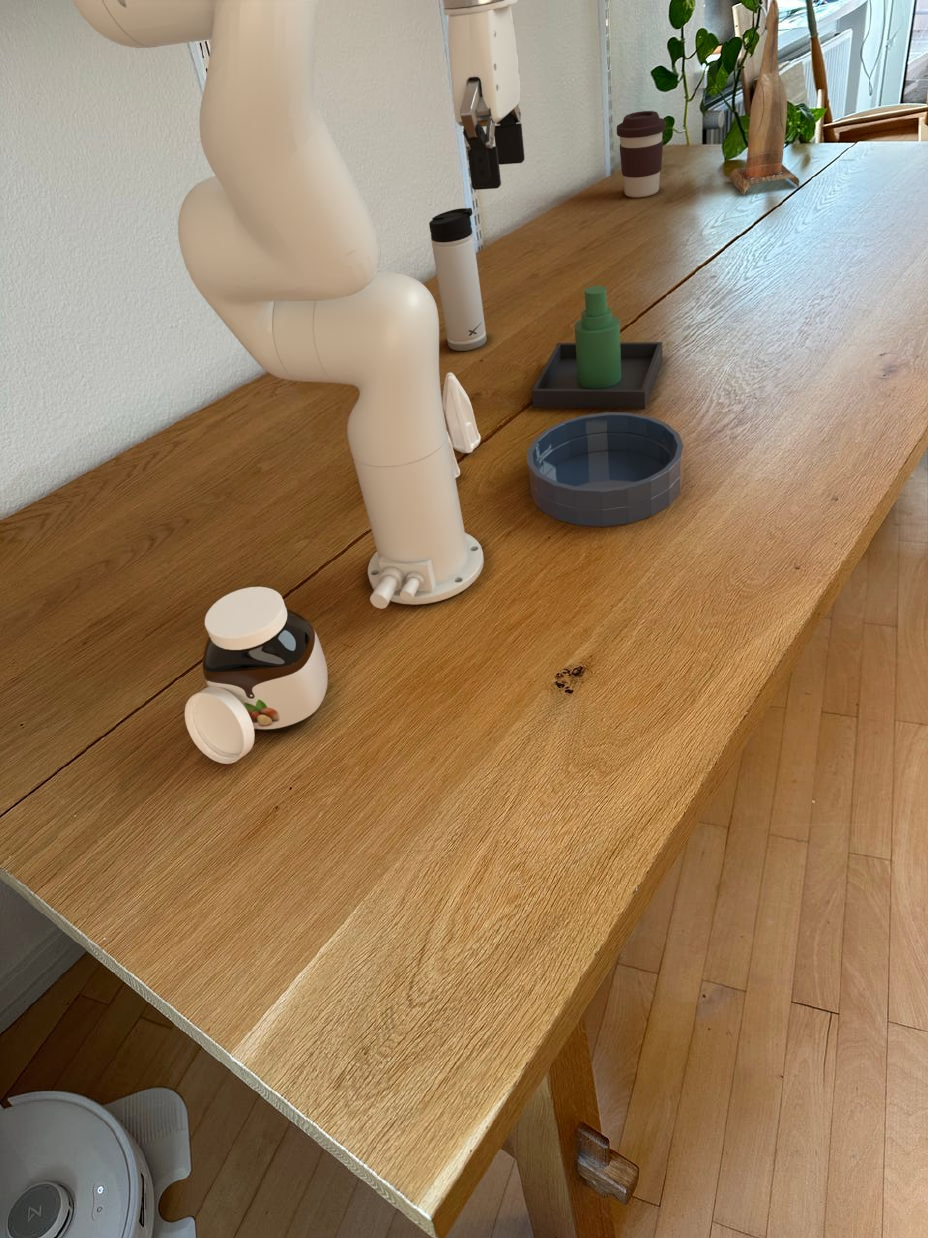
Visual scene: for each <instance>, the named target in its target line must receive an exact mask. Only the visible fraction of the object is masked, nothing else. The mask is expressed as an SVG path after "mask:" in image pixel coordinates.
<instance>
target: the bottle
mask: <svg viewBox="0 0 928 1238" xmlns="http://www.w3.org/2000/svg"><path fill="white" fill-rule="evenodd" d="M607 298H608V297H607V287H606V286H603V285H593V286H589V287H586V288H585V289H584V303H585V304H584V306H585V309H583V310H582V312H581V314H580V316H581V318H580V319H578V320H577V321H576V322H575V323H574V341H575V342H574V343H576V358H577V374H578V382H579V384H580V385H581V386H583V387H586V388H591V389H600V388H607V387H610V386H613V385H615V384H617V383H618V382H619V381H620V380H621V348H620V342H621V321H620V319H619V318H618V317H617V316H614V315H613V311H612V309H611V308H610V307H608V301H607Z"/></svg>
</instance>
